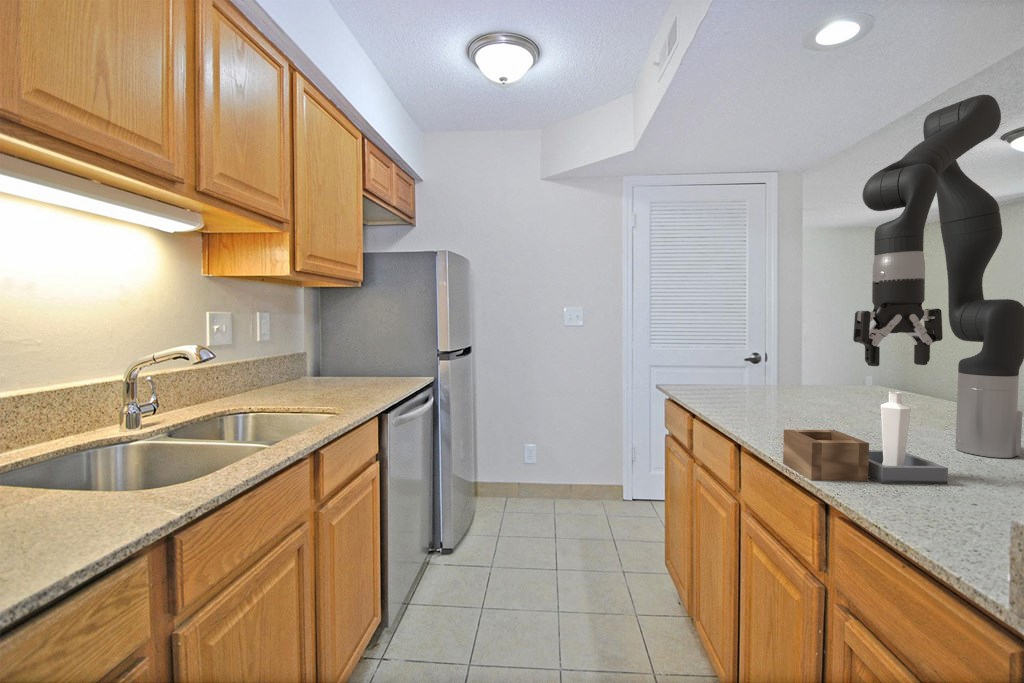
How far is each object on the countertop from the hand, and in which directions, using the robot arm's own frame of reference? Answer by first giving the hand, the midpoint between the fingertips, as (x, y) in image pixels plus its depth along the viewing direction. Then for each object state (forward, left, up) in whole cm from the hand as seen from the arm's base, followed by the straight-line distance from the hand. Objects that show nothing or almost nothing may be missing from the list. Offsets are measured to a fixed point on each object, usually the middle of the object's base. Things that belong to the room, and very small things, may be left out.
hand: (896, 365), depth 87 cm
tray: (0, 0, -21) cm, 21 cm away
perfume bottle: (0, 0, -20) cm, 20 cm away
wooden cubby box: (+12, -1, -21) cm, 24 cm away
